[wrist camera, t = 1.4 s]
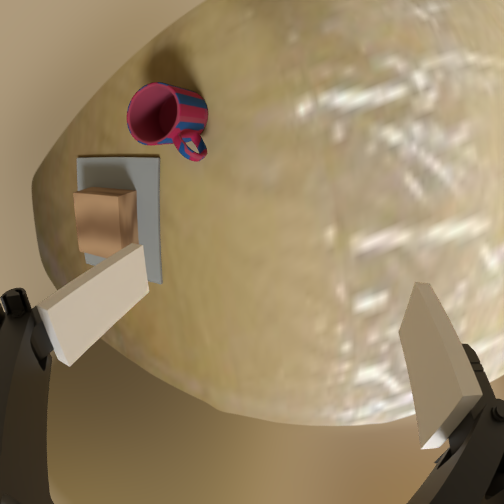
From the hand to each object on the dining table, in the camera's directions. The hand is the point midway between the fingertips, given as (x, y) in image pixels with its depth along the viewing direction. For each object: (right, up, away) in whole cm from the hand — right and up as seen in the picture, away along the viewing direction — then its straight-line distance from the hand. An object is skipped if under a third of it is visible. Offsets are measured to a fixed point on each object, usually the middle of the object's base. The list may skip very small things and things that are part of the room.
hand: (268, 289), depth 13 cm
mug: (-8, +17, +19) cm, 26 cm away
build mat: (-21, +7, +26) cm, 34 cm away
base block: (-21, +7, +26) cm, 34 cm away
